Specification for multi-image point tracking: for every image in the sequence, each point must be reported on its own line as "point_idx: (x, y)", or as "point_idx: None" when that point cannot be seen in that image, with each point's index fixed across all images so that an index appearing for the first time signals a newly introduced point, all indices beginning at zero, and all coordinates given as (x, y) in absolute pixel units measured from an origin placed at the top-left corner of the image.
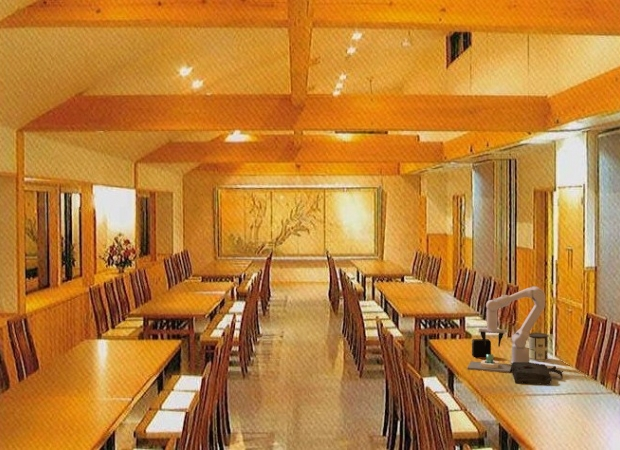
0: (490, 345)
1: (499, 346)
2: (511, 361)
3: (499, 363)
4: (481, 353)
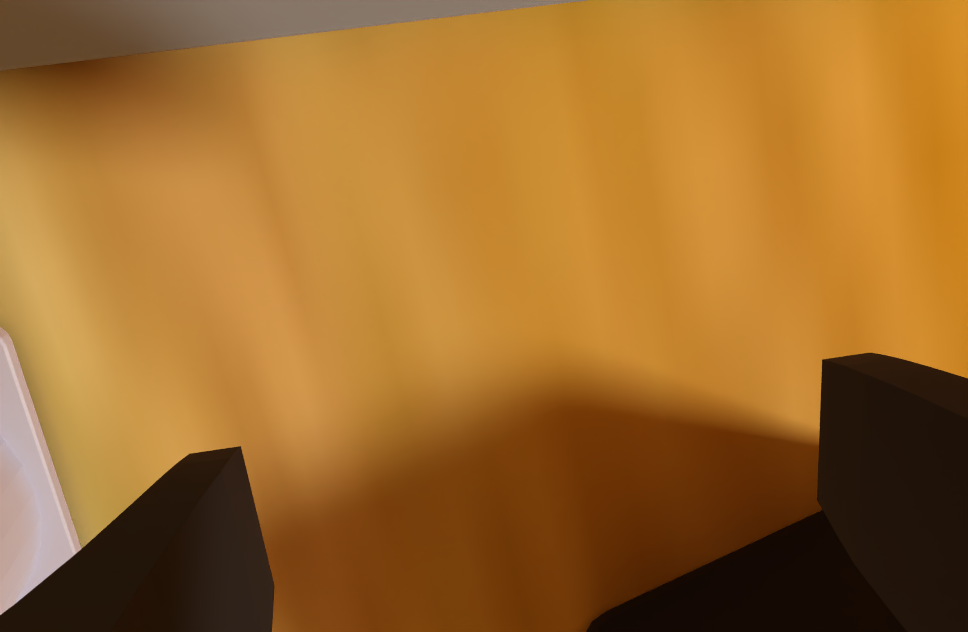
0: None
1: (183, 459)
2: (26, 454)
3: (206, 43)
4: (801, 596)
